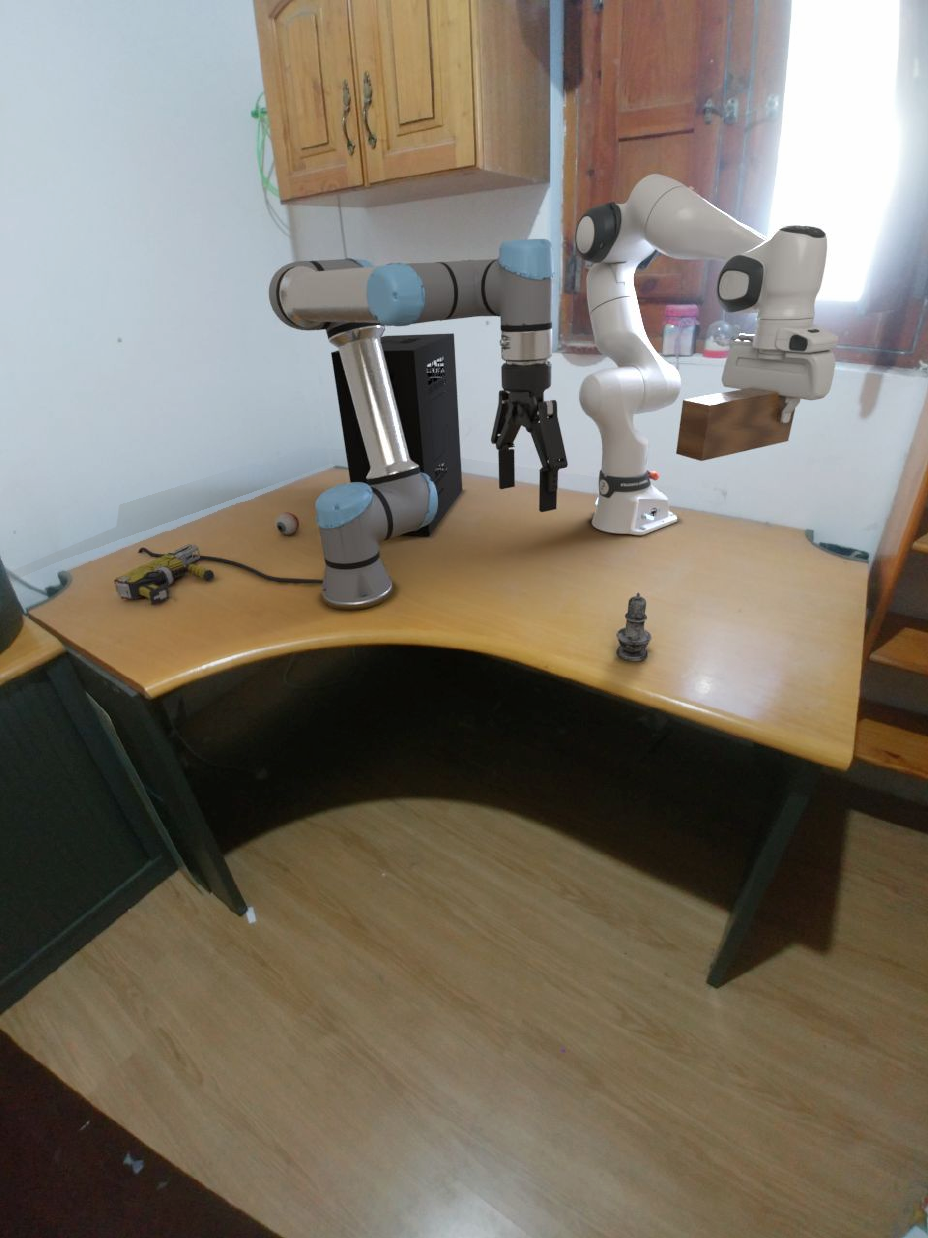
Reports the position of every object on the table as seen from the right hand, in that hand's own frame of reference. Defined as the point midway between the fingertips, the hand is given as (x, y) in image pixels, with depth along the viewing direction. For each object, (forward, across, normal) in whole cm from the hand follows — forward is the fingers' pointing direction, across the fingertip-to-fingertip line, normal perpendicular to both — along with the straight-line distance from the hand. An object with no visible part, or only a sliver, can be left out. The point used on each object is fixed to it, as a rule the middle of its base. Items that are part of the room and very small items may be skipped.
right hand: (765, 418), depth 111 cm
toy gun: (+34, -68, -105) cm, 130 cm away
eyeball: (+34, -84, -75) cm, 118 cm away
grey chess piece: (+34, +10, -36) cm, 51 cm away
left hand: (+7, -5, -49) cm, 50 cm away
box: (+4, 0, -7) cm, 8 cm away
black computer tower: (+34, -81, -39) cm, 96 cm away
